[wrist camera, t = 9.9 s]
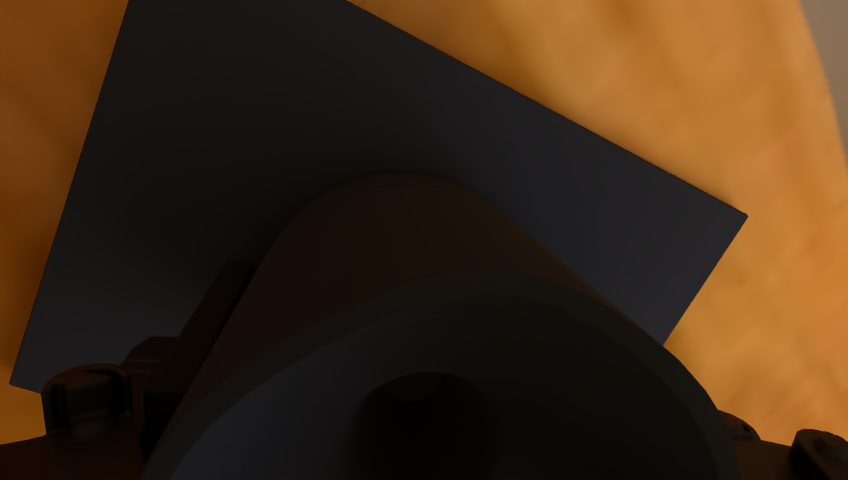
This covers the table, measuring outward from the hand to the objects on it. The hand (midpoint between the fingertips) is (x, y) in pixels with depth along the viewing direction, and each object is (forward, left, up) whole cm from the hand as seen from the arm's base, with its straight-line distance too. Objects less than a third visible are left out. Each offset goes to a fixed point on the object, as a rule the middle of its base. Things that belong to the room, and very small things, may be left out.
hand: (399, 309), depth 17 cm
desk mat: (0, 0, -1) cm, 1 cm away
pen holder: (0, 0, -1) cm, 1 cm away
